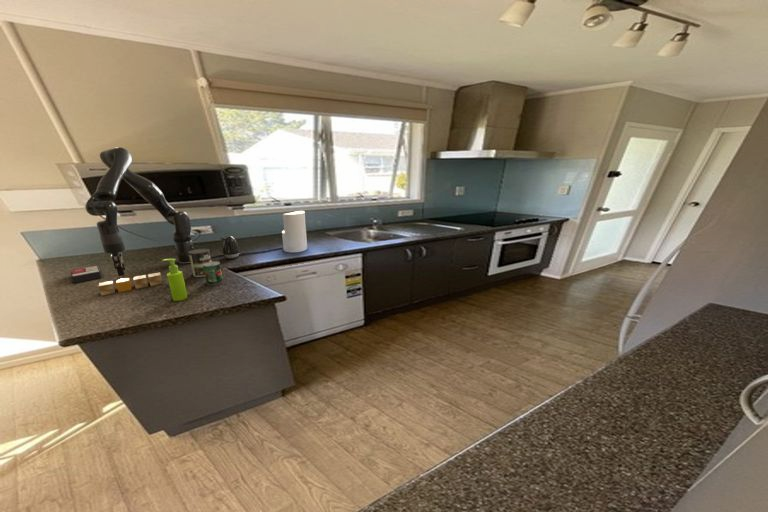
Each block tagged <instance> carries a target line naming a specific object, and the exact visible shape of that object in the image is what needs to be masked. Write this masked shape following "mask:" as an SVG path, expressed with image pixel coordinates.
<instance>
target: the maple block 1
mask: <svg viewBox="0 0 768 512" xmlns="http://www.w3.org/2000/svg"><path fill="white" fill-rule="evenodd" d="M97 287H98V291H99V293H100V296H106V295H111V294H115V293H116V289H117V288H116V285H115V283H114V281H113V280H109V281H102V282H99V283H98V285H97Z"/></svg>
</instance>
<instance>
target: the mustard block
mask: <svg viewBox="0 0 768 512" xmlns="http://www.w3.org/2000/svg"><path fill="white" fill-rule="evenodd" d="M115 287H116V289H117V292H118V293H122V292H127V291H132V290H133V286H132V282H131V278H130V277H124V278H119V279H116V281H115Z"/></svg>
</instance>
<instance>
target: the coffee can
mask: <svg viewBox="0 0 768 512" xmlns="http://www.w3.org/2000/svg"><path fill="white" fill-rule="evenodd" d="M188 253H189V257H190V262H191V263H190V265H191V272H192V276H193V277H195V278H203V277H205V273H204V267H203V264H204V263H207V262H212V258H211V257H212V256H211V253H210V249H209V248H203V247H202V248H194V250H191V251H189V252H188Z"/></svg>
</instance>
